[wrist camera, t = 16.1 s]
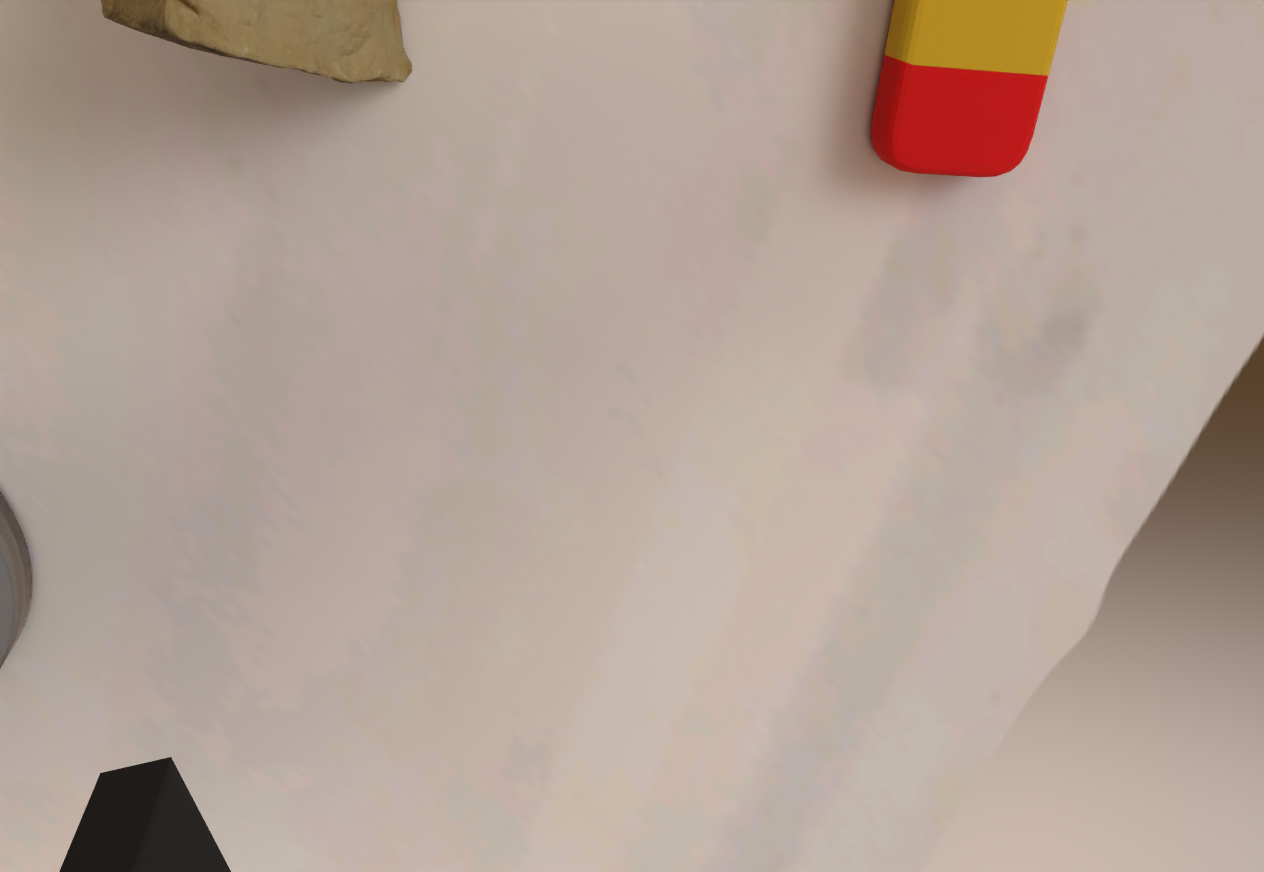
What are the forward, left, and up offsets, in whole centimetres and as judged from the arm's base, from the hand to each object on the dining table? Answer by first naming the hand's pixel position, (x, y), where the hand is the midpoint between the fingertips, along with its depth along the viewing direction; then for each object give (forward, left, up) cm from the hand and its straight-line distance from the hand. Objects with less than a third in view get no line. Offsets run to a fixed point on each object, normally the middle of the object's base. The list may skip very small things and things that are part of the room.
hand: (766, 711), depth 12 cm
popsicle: (+15, +5, -27) cm, 31 cm away
